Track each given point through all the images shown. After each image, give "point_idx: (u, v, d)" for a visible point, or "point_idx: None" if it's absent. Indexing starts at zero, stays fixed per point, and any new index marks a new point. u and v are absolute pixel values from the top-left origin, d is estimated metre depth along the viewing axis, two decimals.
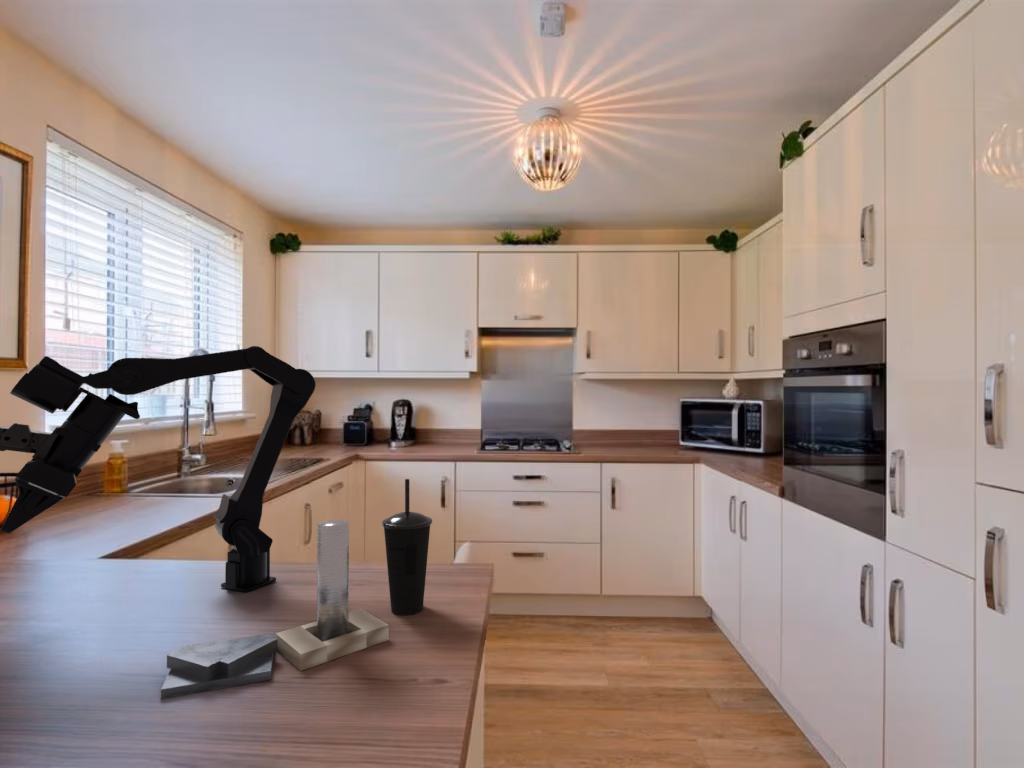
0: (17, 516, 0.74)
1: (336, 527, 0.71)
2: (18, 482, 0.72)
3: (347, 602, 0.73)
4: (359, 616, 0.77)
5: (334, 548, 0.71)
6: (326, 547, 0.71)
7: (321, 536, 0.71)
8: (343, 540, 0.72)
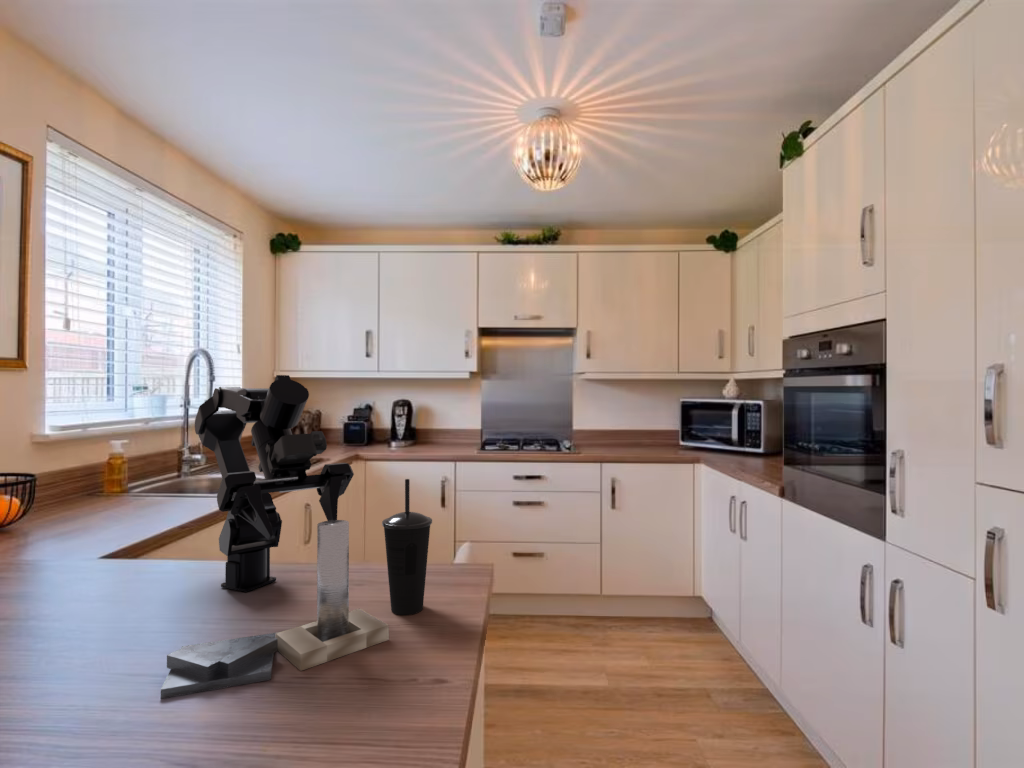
0: None
1: (336, 527, 0.71)
2: (347, 479, 0.86)
3: (347, 602, 0.73)
4: (359, 616, 0.77)
5: (334, 548, 0.71)
6: (326, 547, 0.71)
7: (321, 536, 0.71)
8: (343, 540, 0.72)
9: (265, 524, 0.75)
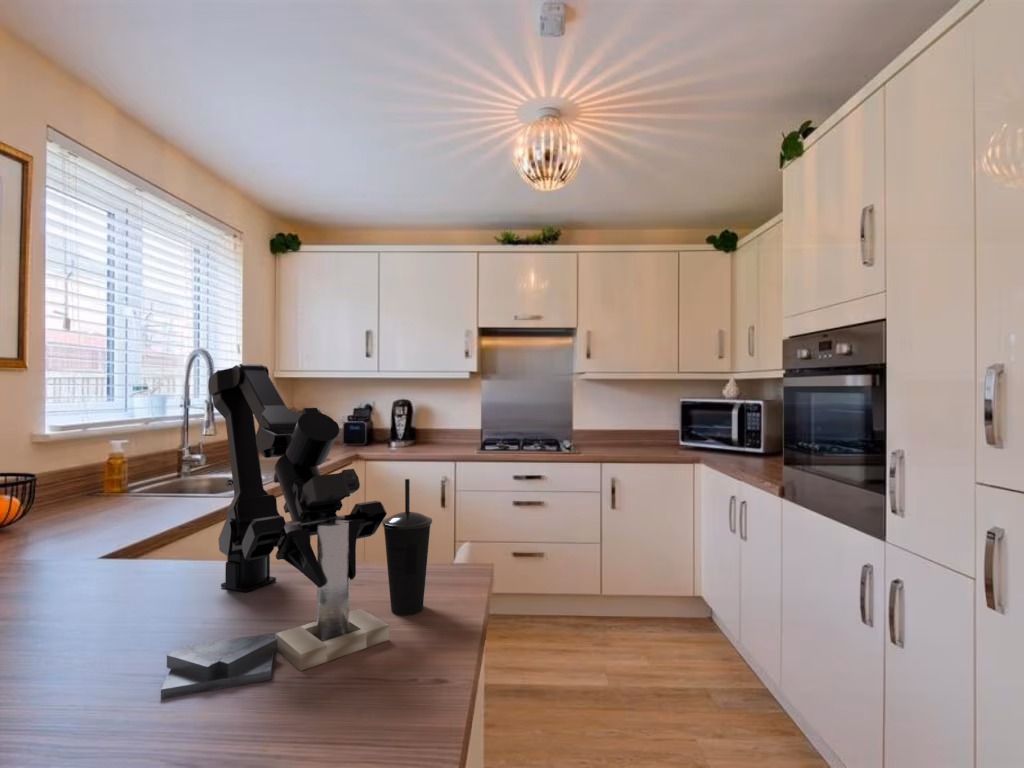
0: None
1: (336, 527, 0.71)
2: (365, 522, 0.78)
3: (347, 602, 0.73)
4: (359, 616, 0.77)
5: (334, 548, 0.71)
6: (326, 547, 0.71)
7: (321, 536, 0.71)
8: (343, 540, 0.72)
9: (316, 571, 0.70)
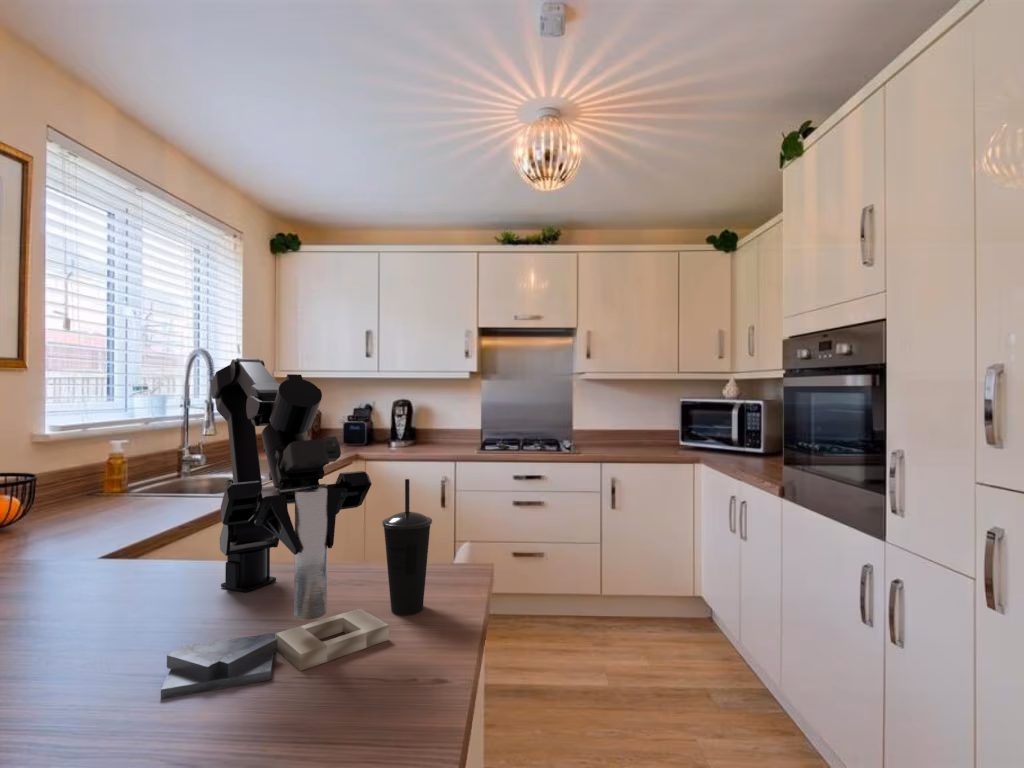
0: None
1: (312, 493, 0.70)
2: (347, 491, 0.76)
3: (324, 571, 0.71)
4: (359, 616, 0.77)
5: (310, 515, 0.69)
6: (302, 514, 0.69)
7: (297, 503, 0.70)
8: (320, 507, 0.70)
9: (291, 538, 0.69)
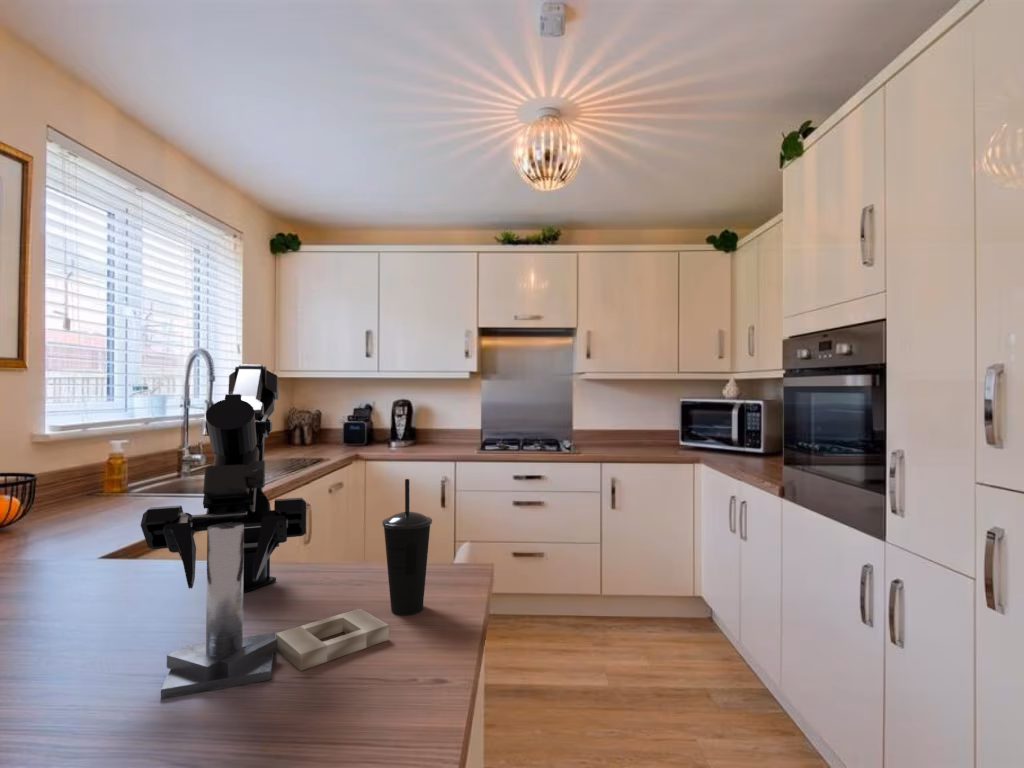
0: (263, 560, 0.69)
1: (219, 531, 0.65)
2: (285, 519, 0.71)
3: (235, 614, 0.66)
4: (359, 616, 0.77)
5: (217, 554, 0.65)
6: (209, 552, 0.65)
7: (207, 539, 0.66)
8: (228, 546, 0.66)
9: (186, 570, 0.65)
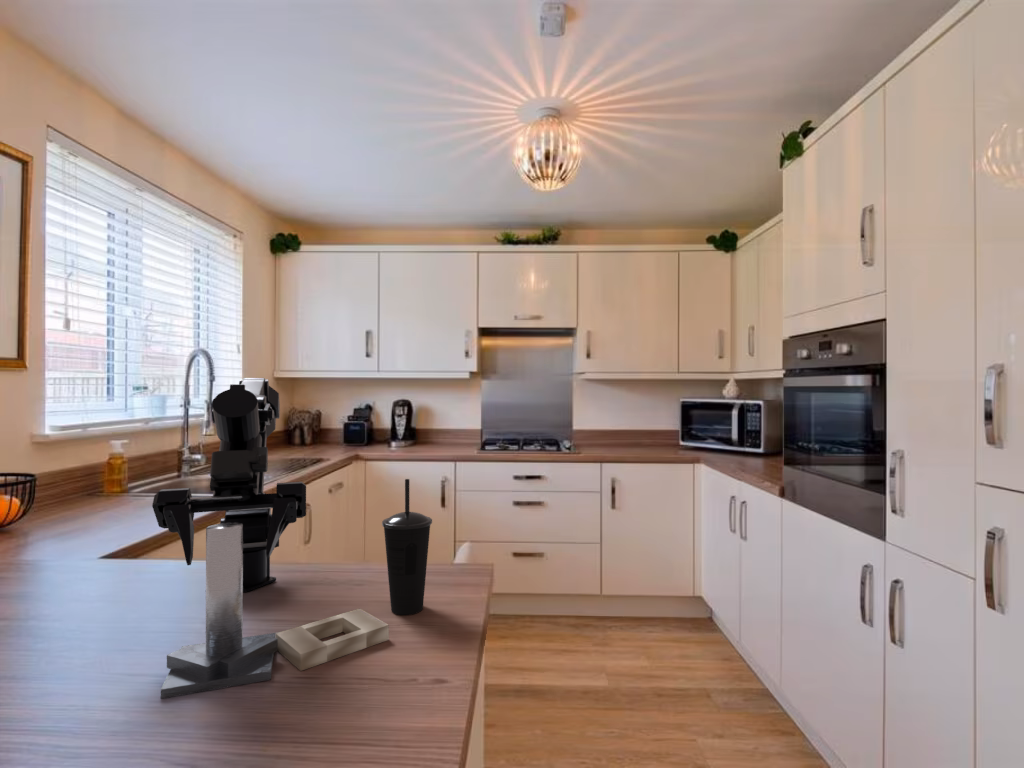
0: (275, 538, 0.74)
1: (217, 531, 0.65)
2: (295, 501, 0.76)
3: (234, 614, 0.66)
4: (359, 616, 0.77)
5: (216, 554, 0.65)
6: (208, 552, 0.65)
7: (206, 539, 0.66)
8: (227, 546, 0.66)
9: (184, 548, 0.70)
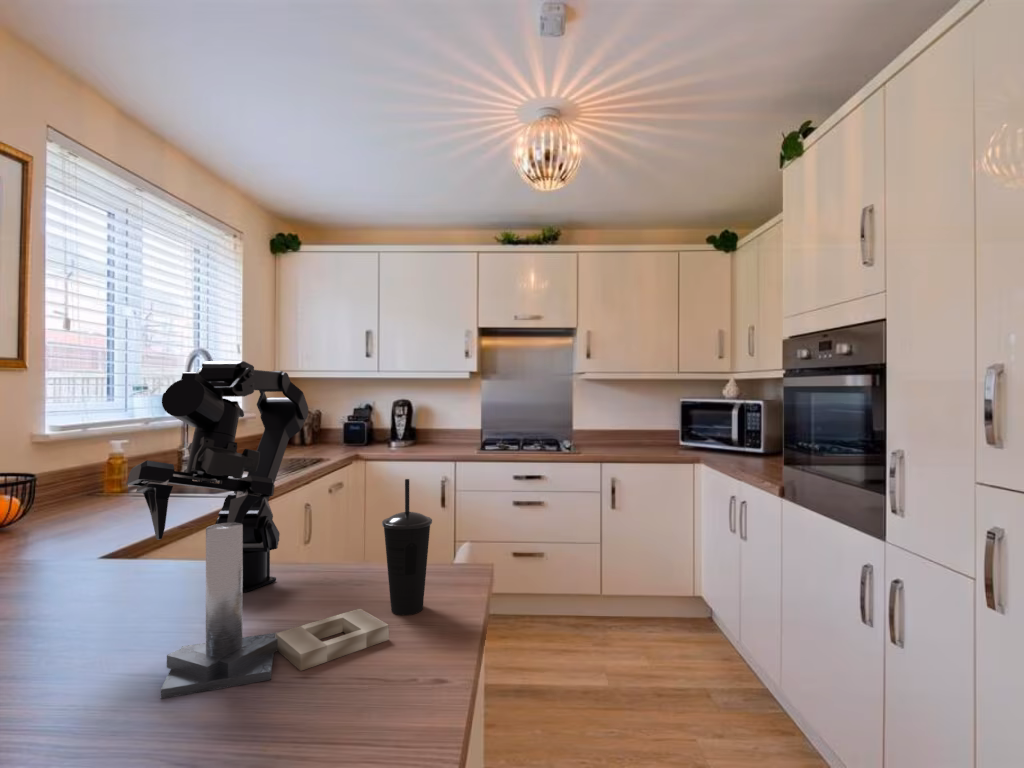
0: None
1: (217, 531, 0.65)
2: (263, 499, 0.85)
3: (234, 614, 0.66)
4: (359, 616, 0.77)
5: (215, 554, 0.65)
6: (208, 552, 0.65)
7: (206, 539, 0.66)
8: (227, 546, 0.66)
9: (159, 525, 0.75)
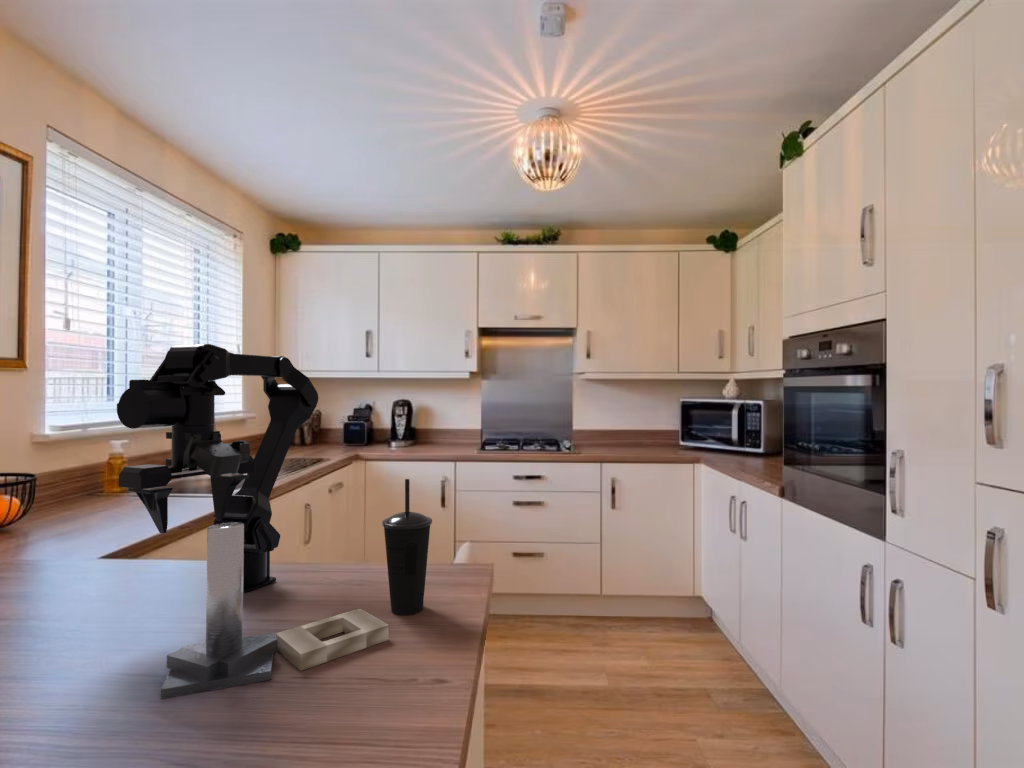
0: None
1: (219, 531, 0.65)
2: (247, 476, 0.91)
3: (235, 614, 0.66)
4: (359, 616, 0.77)
5: (217, 554, 0.65)
6: (209, 551, 0.66)
7: (207, 539, 0.66)
8: (228, 546, 0.66)
9: (163, 522, 0.79)
